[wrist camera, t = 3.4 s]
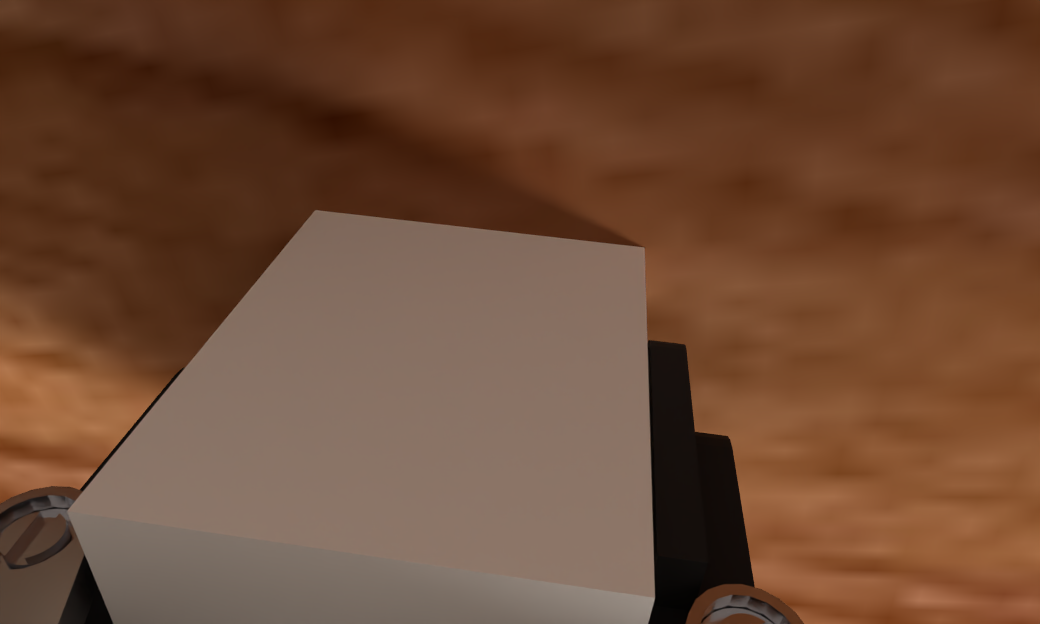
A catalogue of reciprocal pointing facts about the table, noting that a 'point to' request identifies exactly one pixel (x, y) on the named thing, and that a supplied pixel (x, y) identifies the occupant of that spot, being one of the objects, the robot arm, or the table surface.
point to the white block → (396, 442)
